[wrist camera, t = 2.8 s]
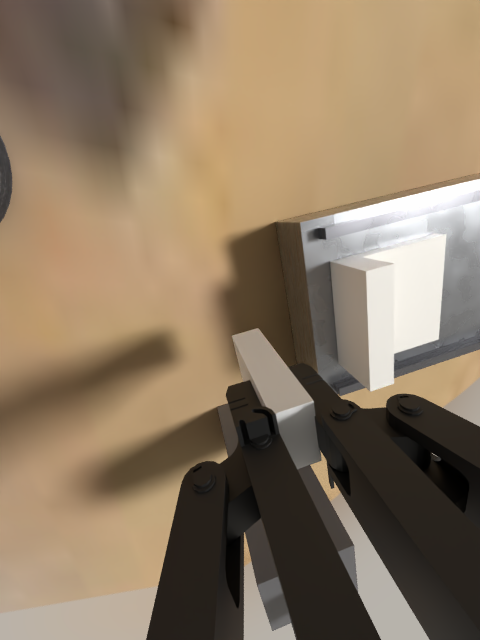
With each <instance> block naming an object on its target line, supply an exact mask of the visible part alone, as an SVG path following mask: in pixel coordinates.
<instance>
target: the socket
mask: <svg viewBox="0 0 480 640" xmlns="http://www.w3.org/2000/svg"><path fill="white" fill-rule="evenodd" d="M276 229H277V235H278V242H279V249H280V255H281V262H282V268H283V275H284V282H285V288H286V295H287V301H288V308H289V315H290V321H291V328H292V334H293V341H294V348H295V354H296V361H297V364H300V363H304V364H307V365H309V366H311V367H312V368H313V369H314V370H315V371H316V372H317V373H318V375H320V376H321V377H322V378H323V380H325V382H326V383H327V384H328V385H329V386H330V387H331V388H332V389H333V390H334V391H335V392H336V393H337V394H338V395H339V396H342V395H345V394H348V393H351V392H354V391H357V390H360V389H363V388H366V387H364V386H363V385H362V384H361V383H360V382H359V381H358V380H357V379H355V378H354V377H353V376H352V375H351V374H350V373H349V372H347V371H346V370H345V369H344V368H343V367H342V366H341V365H340V364H339V363H338V351H337V339H336V328H335V316H334V304H333V292H332V280H331V268H330V261H334V260H338V259H341V258H345V257H349V256H353V255H356V254H360V253H364V252H368V251H371V250H375V249H379V248H383V247H386V246H390V245H394V244H398V243H401V242H405V241H409V240H413V239H416V238H420V237H424V236H428V235H431V234H446V247H445V261H444V274H443V288H442V301H441V315H440V328H439V339H438V340H435V341H432V342H429V343H426V344H423V345H420V346H417V347H414V348H410V349H407V350H404V351H401V352H398V353H395V354H394V378H396V377H399V376H402V375H405V374H408V373H410V372H413V371H416V370H419V369H422V368H425V367H428V366H431V365H434V364H437V363H440V362H443V361H446V360H449V359H452V358H455V357H458V356H461V355H464V354H467V353H470V352H473V351H476V350H479V349H480V173H478V174H473V175H469V176H465V177H461V178H457V179H452V180H448V181H444V182H440V183H436V184H432V185H427V186H423V187H419V188H415V189H411V190H407V191H402V192H398V193H394V194H390V195H386V196H382V197H377V198H373V199H369V200H365V201H361V202H357V203H352V204H348V205H344V206H340V207H336V208H331V209H327V210H323V211H319V212H315V213H311V214H306V215H302V216H298V217H294V218H290V219H286V220H281V221H277V222H276Z"/></svg>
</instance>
